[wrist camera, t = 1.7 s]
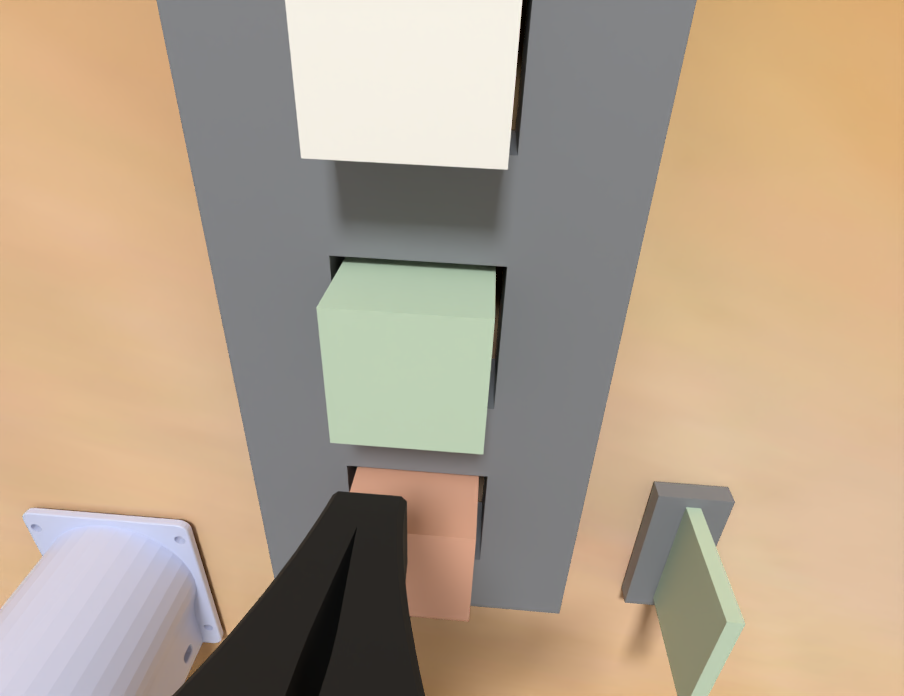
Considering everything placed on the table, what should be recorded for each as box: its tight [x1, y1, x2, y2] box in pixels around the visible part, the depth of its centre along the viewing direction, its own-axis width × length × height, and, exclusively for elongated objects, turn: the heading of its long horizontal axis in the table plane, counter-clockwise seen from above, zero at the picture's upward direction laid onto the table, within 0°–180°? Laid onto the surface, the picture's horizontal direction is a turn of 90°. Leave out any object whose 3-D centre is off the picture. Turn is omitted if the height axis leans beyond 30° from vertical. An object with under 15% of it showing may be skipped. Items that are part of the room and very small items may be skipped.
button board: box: [157, 0, 696, 613], centre depth 19 cm, size 26×12×3 cm, turn 178°
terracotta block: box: [350, 466, 479, 621], centre depth 21 cm, size 4×4×4 cm
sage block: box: [316, 257, 496, 454], centre depth 17 cm, size 4×4×4 cm
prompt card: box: [622, 482, 745, 696], centre depth 23 cm, size 7×3×6 cm, turn 178°
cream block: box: [285, 0, 522, 170], centre depth 13 cm, size 4×4×4 cm
